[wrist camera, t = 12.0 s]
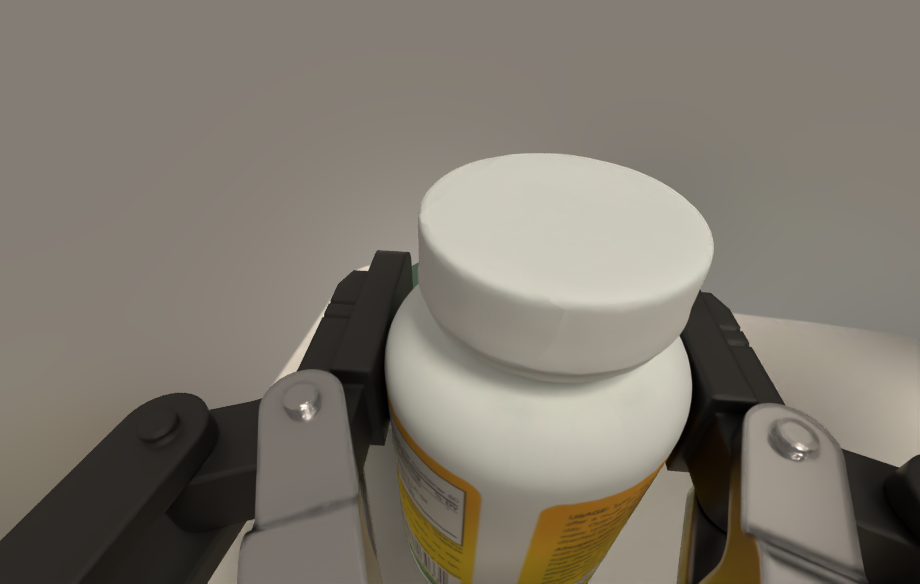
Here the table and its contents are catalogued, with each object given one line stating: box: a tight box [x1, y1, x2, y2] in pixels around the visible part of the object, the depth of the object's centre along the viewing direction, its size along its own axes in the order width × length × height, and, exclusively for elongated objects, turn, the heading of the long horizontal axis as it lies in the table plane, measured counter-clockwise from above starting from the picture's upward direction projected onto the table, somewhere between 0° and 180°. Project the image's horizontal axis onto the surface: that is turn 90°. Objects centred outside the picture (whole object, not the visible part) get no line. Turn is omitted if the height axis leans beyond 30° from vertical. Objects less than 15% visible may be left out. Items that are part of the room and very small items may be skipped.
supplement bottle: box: [384, 153, 714, 584], centre depth 9 cm, size 5×5×10 cm
